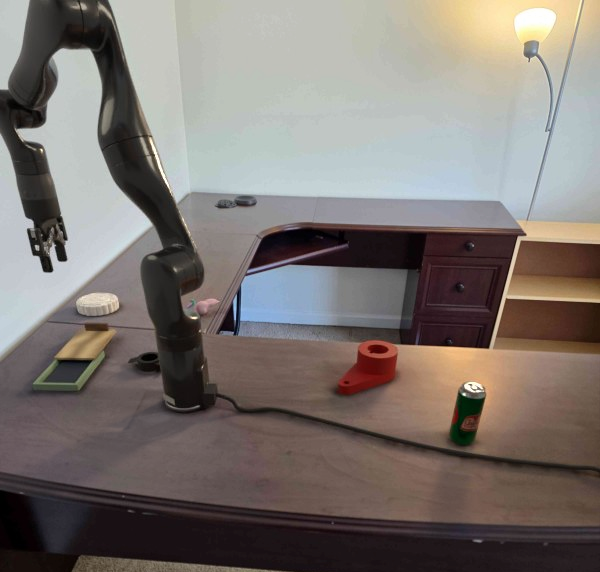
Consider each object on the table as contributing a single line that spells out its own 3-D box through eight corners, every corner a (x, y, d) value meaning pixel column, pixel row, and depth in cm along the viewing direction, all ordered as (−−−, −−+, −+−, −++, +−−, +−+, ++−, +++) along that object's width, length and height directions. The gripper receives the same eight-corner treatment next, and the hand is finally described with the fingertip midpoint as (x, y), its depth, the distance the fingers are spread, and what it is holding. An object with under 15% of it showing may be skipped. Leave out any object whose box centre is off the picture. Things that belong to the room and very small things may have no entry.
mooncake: (87, 319, 146) (84, 308, 144) (72, 308, 153) (69, 296, 152) (125, 310, 153) (123, 298, 151) (109, 299, 160) (107, 288, 158)
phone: (97, 357, 125) (96, 354, 124) (74, 387, 112) (73, 384, 112) (69, 357, 125) (68, 354, 124) (43, 387, 112) (42, 383, 112)
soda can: (459, 449, 96) (471, 396, 89) (443, 434, 100) (453, 383, 93) (480, 443, 98) (493, 391, 91) (463, 429, 101) (475, 378, 95)
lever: (371, 360, 126) (373, 337, 123) (402, 373, 121) (405, 349, 117) (324, 386, 115) (326, 360, 112) (356, 401, 110) (359, 375, 106)
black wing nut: (153, 356, 127) (152, 345, 125) (176, 369, 121) (174, 358, 120) (126, 366, 122) (124, 355, 121) (148, 380, 116) (146, 369, 115)
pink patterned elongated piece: (184, 329, 145) (225, 308, 152) (179, 310, 141) (221, 290, 148) (173, 322, 148) (213, 302, 156) (167, 304, 145) (209, 285, 152)
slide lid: (116, 331, 134) (115, 322, 133) (94, 360, 120) (91, 350, 118) (81, 330, 134) (79, 321, 133) (54, 359, 120) (51, 349, 118)
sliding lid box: (105, 357, 126) (103, 350, 125) (79, 392, 111) (77, 384, 110) (66, 356, 126) (64, 349, 125) (34, 391, 111) (32, 384, 110)
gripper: (41, 201, 105) (60, 276, 113) (67, 189, 117) (82, 258, 125) (5, 200, 105) (26, 276, 113) (35, 188, 117) (52, 257, 125)
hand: (56, 266), depth 119 cm, fingers open, 8 cm apart
